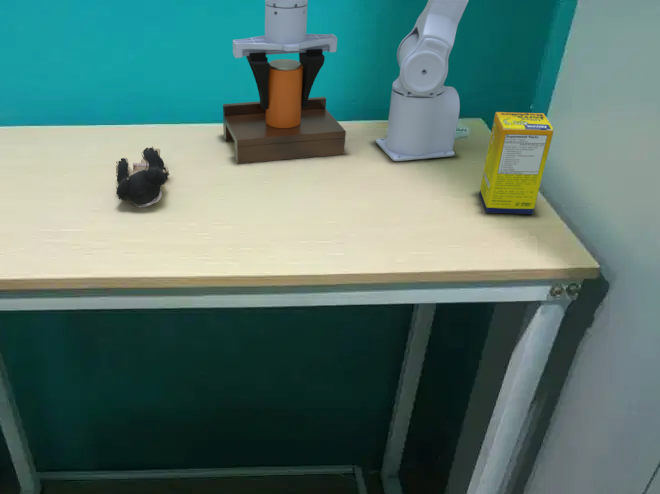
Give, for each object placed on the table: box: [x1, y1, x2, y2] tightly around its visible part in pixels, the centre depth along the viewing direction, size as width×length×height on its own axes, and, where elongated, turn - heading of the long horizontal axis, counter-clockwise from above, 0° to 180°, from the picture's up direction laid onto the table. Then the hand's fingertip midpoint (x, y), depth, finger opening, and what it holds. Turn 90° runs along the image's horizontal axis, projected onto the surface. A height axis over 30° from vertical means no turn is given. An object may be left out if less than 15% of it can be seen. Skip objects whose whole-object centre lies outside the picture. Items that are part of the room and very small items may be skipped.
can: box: [266, 58, 303, 128], centre depth 106 cm, size 5×5×8 cm
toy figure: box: [115, 146, 170, 209], centre depth 97 cm, size 7×6×15 cm
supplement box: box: [478, 111, 555, 215], centre depth 91 cm, size 6×6×11 cm
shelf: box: [222, 96, 347, 164], centre depth 109 cm, size 16×11×5 cm
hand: (283, 105), depth 107 cm, fingers closed on can, 5 cm apart
